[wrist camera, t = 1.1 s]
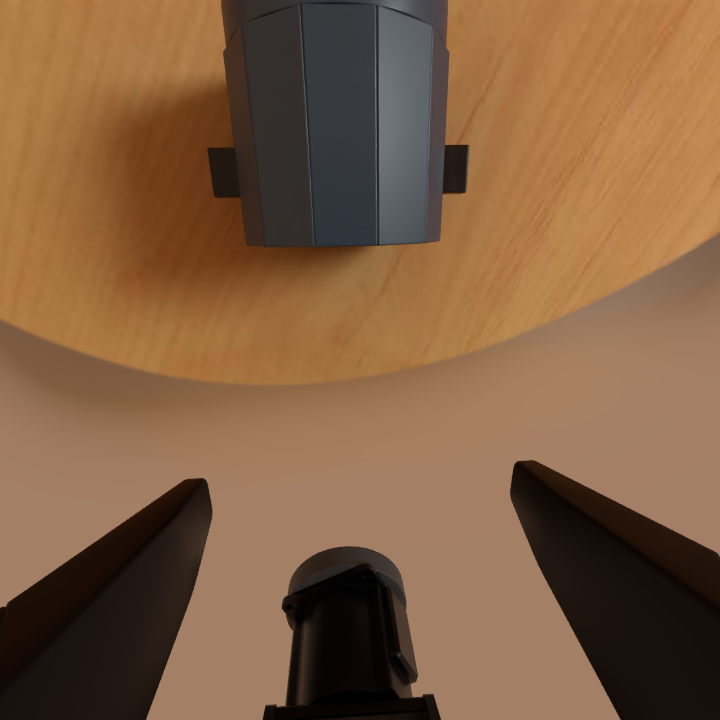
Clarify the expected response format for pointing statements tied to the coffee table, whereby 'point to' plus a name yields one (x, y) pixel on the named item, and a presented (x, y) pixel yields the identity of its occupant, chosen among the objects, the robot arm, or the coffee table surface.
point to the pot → (338, 121)
